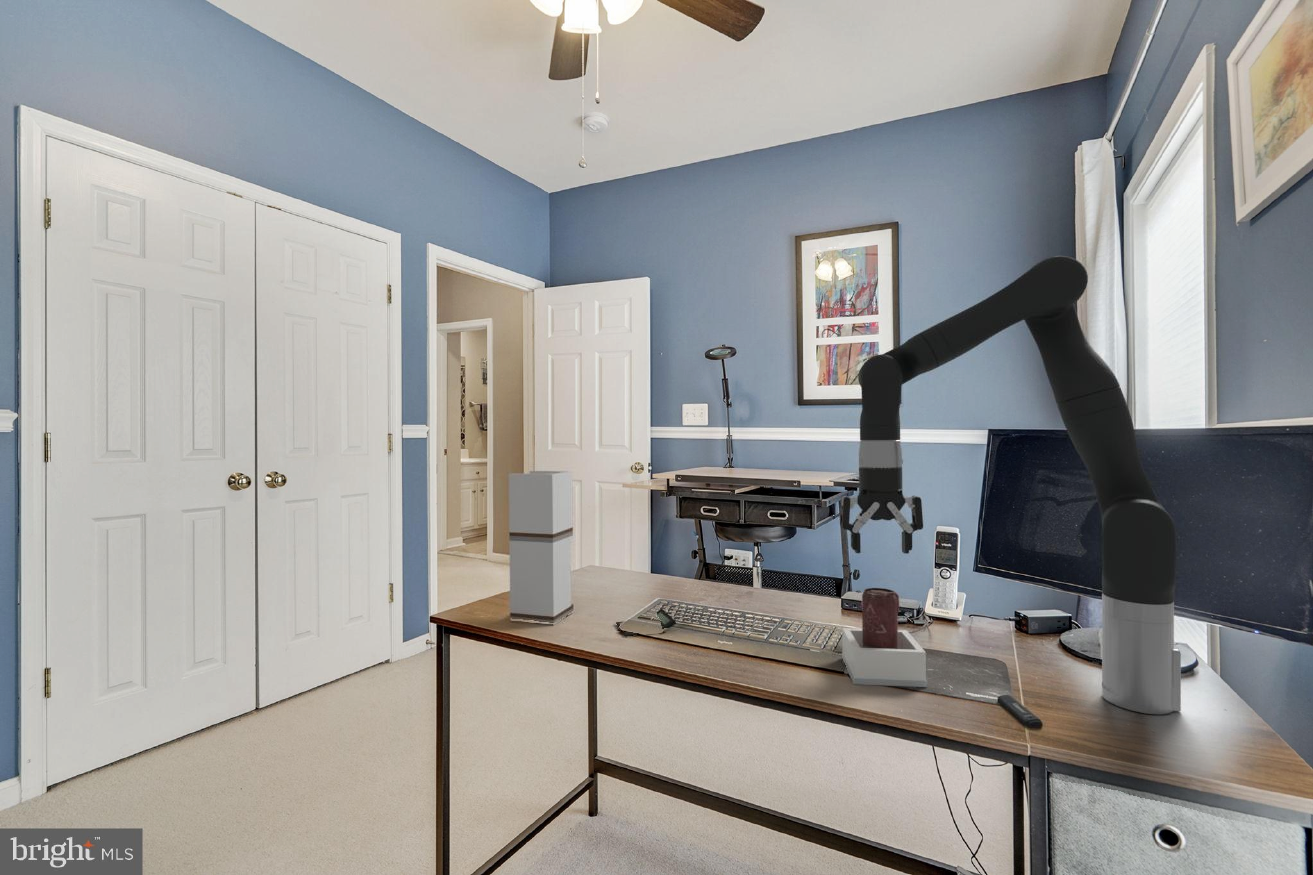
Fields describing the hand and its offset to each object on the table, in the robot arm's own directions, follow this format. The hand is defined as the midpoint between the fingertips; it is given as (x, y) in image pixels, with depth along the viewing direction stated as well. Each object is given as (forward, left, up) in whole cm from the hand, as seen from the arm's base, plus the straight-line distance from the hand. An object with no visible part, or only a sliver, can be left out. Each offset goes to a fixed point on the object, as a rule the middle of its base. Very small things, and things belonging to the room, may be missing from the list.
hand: (881, 552), depth 114 cm
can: (0, 0, -21) cm, 21 cm away
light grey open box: (0, 0, -22) cm, 22 cm away
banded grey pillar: (+73, -27, -22) cm, 81 cm away
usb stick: (-17, +15, -23) cm, 32 cm away
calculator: (+47, -21, -23) cm, 56 cm away
